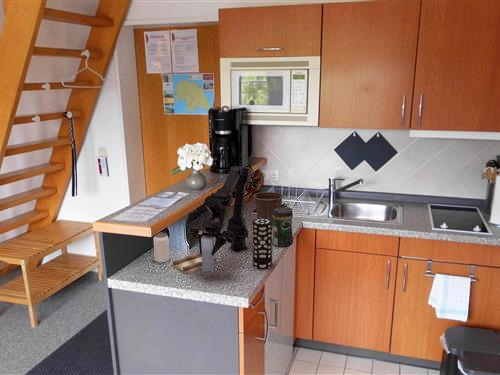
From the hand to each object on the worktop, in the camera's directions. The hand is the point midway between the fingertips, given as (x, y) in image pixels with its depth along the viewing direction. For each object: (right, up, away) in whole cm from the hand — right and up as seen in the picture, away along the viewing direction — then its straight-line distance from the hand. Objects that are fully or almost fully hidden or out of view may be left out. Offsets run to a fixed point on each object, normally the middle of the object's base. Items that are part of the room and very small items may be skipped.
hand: (206, 254), depth 166 cm
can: (-22, -6, +22) cm, 32 cm away
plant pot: (+27, +6, +71) cm, 76 cm away
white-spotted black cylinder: (+23, -7, +16) cm, 28 cm away
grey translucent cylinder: (+1, -6, +3) cm, 7 cm away
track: (-7, -7, +17) cm, 20 cm away
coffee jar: (+33, -2, +40) cm, 52 cm away
